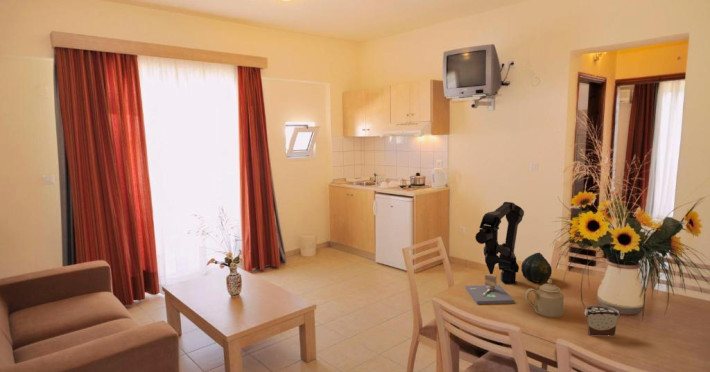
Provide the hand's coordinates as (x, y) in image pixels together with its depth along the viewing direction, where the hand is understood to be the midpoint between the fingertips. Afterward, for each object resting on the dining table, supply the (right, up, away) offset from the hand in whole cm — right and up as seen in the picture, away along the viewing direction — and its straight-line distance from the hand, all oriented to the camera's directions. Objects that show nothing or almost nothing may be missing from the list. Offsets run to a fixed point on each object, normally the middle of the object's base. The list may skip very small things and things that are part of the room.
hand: (490, 271), depth 202 cm
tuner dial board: (-2, -11, -2) cm, 12 cm away
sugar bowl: (+16, -14, -22) cm, 31 cm away
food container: (+28, -16, -40) cm, 52 cm away
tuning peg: (-2, -10, -2) cm, 10 cm away
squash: (+29, -8, +17) cm, 35 cm away
